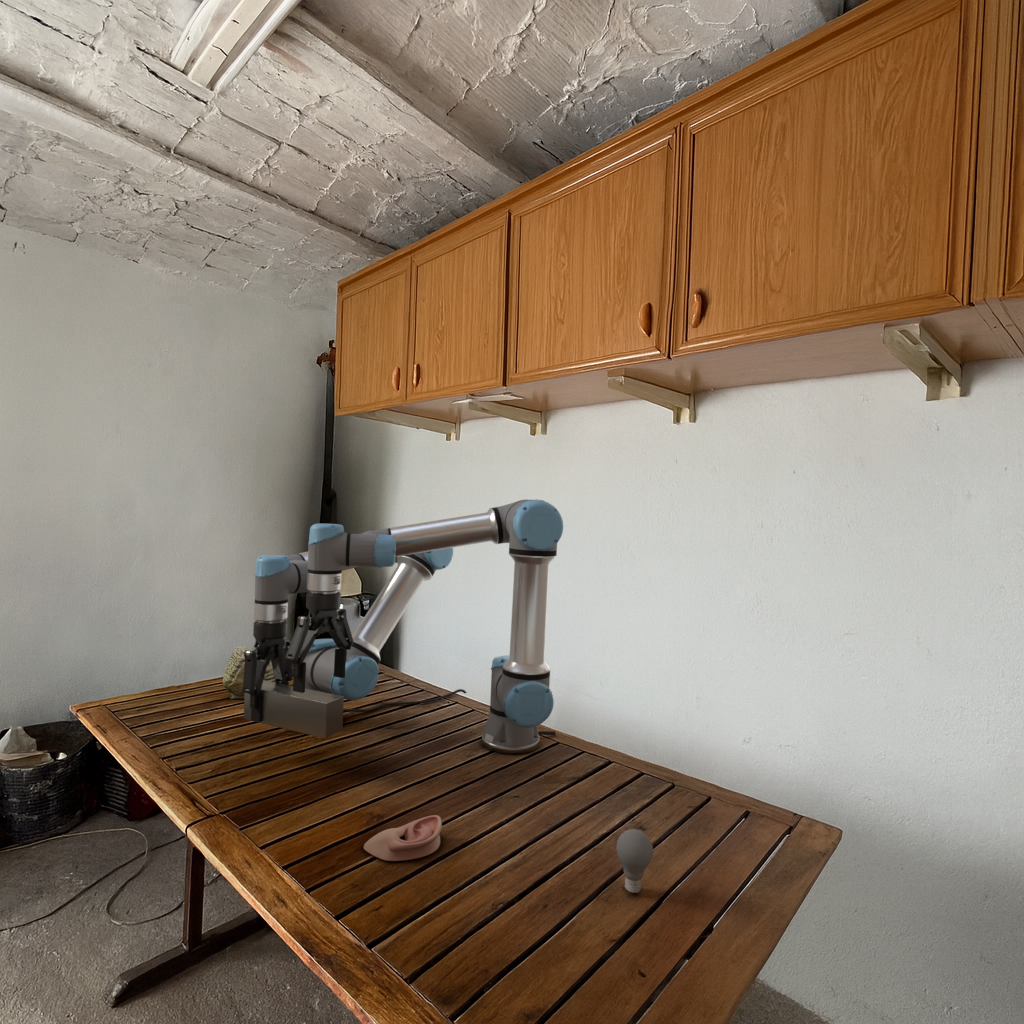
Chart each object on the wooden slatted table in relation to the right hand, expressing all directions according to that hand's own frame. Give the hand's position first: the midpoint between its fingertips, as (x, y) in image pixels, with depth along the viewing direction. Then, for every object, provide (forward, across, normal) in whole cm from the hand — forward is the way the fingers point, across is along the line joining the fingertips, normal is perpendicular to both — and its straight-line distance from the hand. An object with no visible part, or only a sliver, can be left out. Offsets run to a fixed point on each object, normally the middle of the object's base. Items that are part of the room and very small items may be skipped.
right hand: (319, 684), depth 145 cm
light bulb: (+20, -10, -75) cm, 79 cm away
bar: (+11, 0, +8) cm, 13 cm away
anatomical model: (+20, -16, -34) cm, 43 cm away
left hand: (+10, 0, +15) cm, 19 cm away
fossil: (+21, +34, +54) cm, 67 cm away
